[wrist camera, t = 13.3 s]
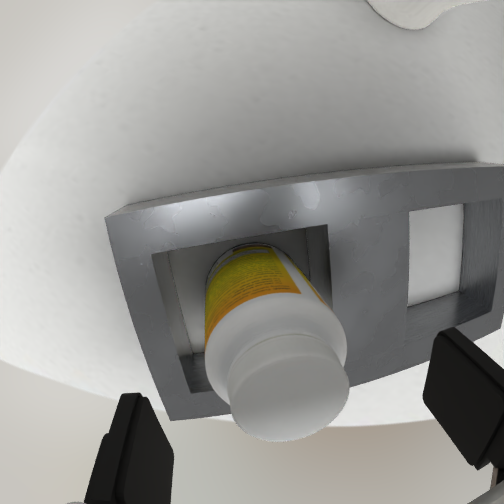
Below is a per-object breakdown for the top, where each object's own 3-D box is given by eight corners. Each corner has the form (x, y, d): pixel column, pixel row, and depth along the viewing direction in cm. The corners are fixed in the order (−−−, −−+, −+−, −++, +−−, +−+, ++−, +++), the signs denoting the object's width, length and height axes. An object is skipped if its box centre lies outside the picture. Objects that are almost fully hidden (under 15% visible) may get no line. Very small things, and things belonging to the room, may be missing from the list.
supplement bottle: (188, 302, 19) (174, 429, 9) (237, 222, 18) (268, 297, 8) (266, 340, 20) (306, 467, 10) (316, 269, 19) (402, 366, 10)
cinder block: (126, 205, 17) (104, 217, 13) (477, 161, 19) (515, 166, 15) (175, 380, 20) (170, 421, 17) (470, 307, 22) (500, 328, 18)
